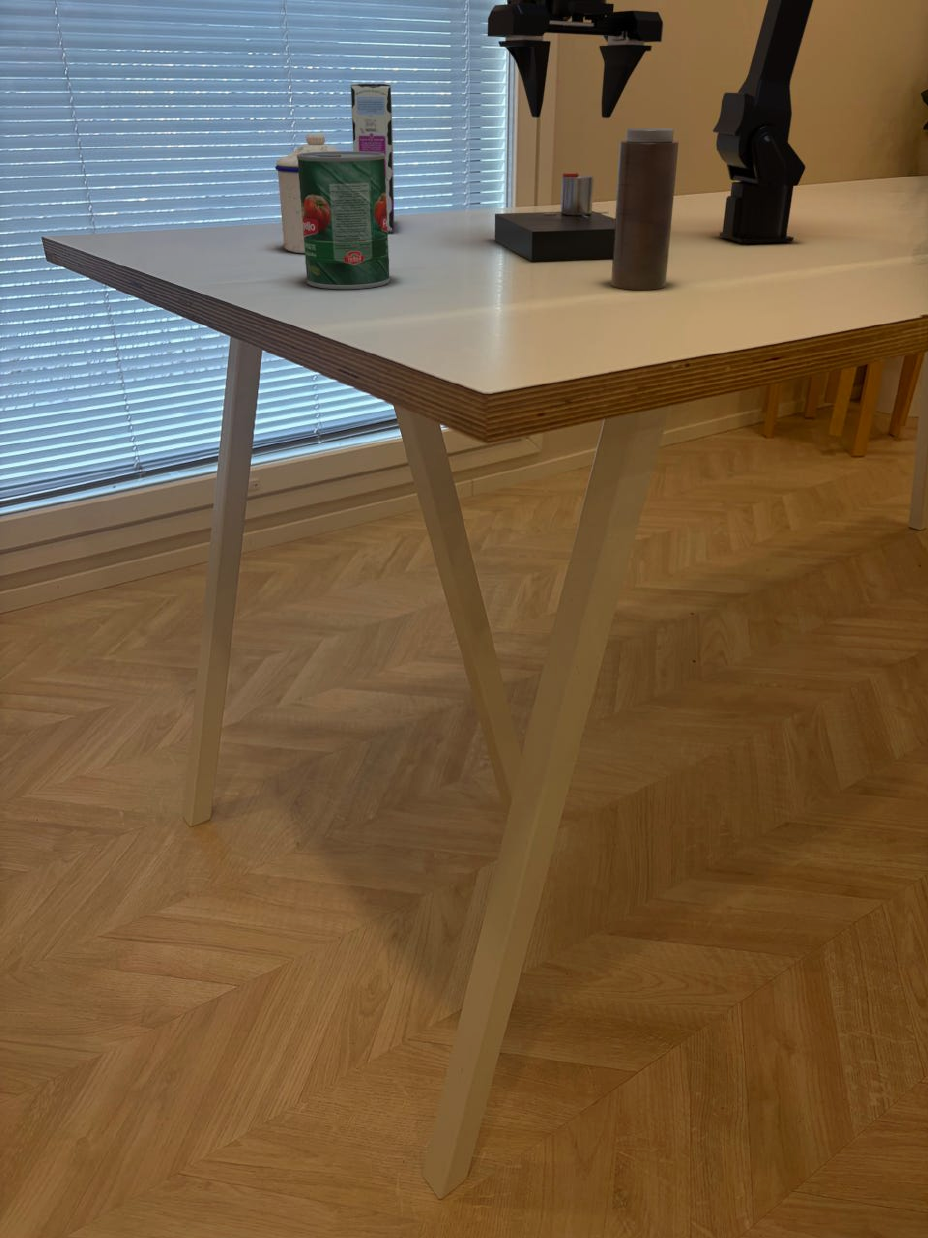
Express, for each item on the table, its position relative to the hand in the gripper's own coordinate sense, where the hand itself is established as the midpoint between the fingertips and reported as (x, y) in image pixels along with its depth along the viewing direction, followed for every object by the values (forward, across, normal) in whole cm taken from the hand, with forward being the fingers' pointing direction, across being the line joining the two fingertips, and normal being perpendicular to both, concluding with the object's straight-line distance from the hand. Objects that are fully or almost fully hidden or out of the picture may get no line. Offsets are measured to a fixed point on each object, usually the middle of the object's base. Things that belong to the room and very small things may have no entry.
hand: (571, 117), depth 108 cm
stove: (+13, +1, +2) cm, 13 cm away
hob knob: (+10, -3, -2) cm, 11 cm away
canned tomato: (+14, +31, +9) cm, 35 cm away
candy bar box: (+14, +12, -25) cm, 31 cm away
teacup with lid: (+14, +24, -13) cm, 31 cm away
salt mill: (+13, +8, +24) cm, 29 cm away
